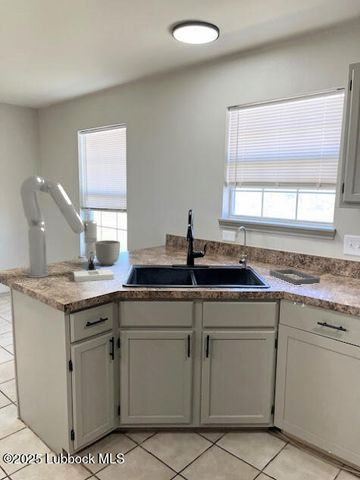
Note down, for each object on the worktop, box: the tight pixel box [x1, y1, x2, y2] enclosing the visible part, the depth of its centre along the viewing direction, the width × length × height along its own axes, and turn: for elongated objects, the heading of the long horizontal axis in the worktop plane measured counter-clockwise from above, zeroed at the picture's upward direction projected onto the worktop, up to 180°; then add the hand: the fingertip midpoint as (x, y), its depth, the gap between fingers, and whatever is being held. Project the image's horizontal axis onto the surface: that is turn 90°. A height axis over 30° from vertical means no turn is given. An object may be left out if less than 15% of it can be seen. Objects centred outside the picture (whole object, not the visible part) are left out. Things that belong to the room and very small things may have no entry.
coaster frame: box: [269, 268, 321, 285], centre depth 225 cm, size 17×26×4 cm, turn 20°
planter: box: [95, 239, 121, 267], centre depth 254 cm, size 17×17×16 cm
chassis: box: [73, 269, 115, 283], centre depth 218 cm, size 22×13×3 cm, turn 110°
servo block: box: [81, 261, 101, 271], centre depth 230 cm, size 11×4×7 cm, turn 110°
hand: (90, 268), depth 230 cm, fingers closed on servo block, 4 cm apart
